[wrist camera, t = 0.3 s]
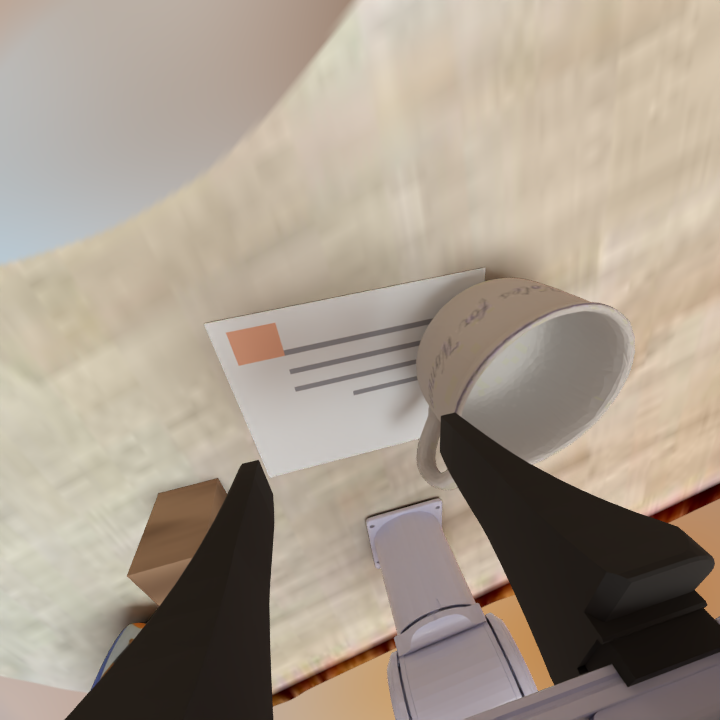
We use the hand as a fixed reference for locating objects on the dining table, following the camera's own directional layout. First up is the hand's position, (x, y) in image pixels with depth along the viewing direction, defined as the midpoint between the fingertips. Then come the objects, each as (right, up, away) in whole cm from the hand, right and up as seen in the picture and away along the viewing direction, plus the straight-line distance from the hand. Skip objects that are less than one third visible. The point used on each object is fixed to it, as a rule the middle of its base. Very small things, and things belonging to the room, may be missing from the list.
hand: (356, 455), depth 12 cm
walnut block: (-13, -8, +14) cm, 20 cm away
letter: (+1, +2, +11) cm, 11 cm away
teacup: (+7, +4, +11) cm, 14 cm away
